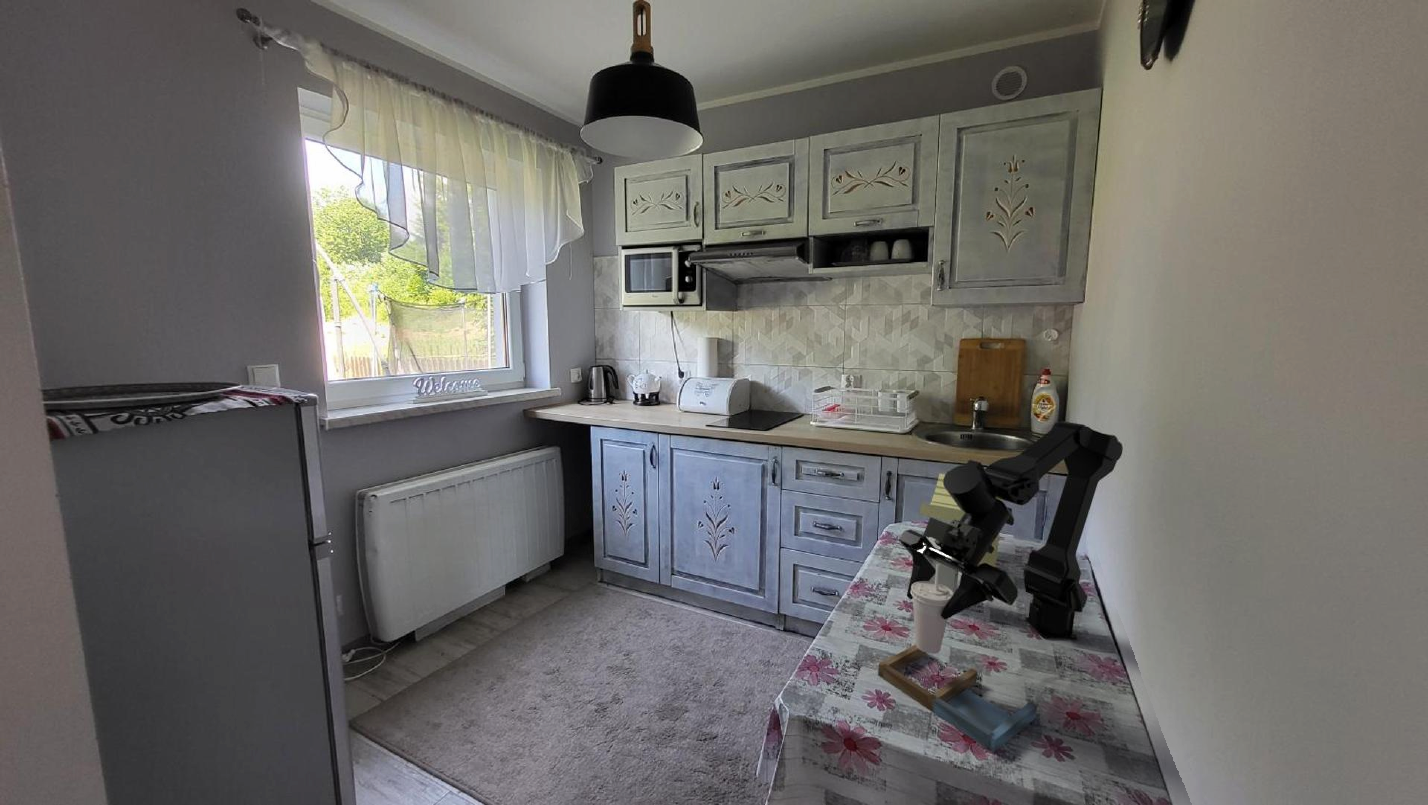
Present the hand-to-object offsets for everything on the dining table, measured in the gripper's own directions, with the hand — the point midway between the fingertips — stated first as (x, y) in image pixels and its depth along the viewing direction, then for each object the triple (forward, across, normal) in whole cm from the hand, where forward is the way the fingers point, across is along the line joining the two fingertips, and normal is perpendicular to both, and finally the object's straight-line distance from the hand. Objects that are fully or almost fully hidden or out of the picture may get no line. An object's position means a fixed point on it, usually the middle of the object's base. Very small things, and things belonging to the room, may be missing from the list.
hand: (925, 607), depth 82 cm
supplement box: (-8, -18, +28) cm, 34 cm away
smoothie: (+4, 0, +6) cm, 7 cm away
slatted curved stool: (-23, -28, +43) cm, 56 cm away
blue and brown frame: (+8, +4, +11) cm, 14 cm away
